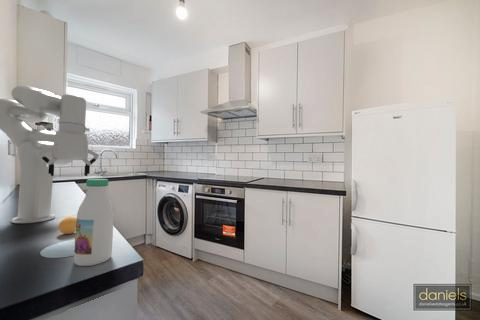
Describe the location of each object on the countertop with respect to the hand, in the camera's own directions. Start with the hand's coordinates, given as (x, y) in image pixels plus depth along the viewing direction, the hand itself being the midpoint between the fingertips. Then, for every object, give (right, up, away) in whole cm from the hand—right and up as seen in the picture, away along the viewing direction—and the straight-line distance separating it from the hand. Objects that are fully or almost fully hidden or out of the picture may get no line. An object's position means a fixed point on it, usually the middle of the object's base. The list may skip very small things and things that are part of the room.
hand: (69, 175), depth 78 cm
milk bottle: (+26, -19, -25) cm, 41 cm away
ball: (+6, -16, -7) cm, 18 cm away
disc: (+15, -19, -19) cm, 31 cm away
